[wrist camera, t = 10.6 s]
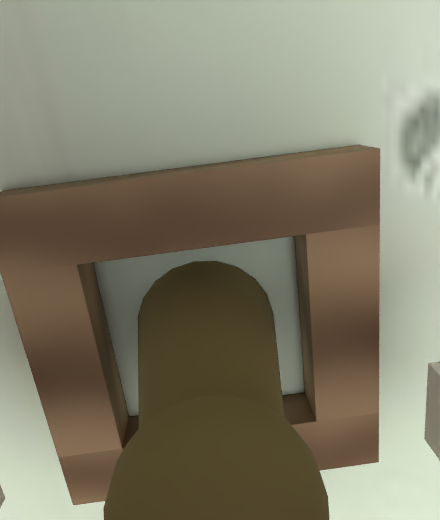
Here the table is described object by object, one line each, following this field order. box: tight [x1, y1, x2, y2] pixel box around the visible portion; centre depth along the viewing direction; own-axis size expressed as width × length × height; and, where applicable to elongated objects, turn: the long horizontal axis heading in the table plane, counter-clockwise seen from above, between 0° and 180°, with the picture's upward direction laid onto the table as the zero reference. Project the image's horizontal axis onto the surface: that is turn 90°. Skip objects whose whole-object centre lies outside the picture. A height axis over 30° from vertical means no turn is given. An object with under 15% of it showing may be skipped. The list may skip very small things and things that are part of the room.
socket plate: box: [0, 145, 380, 505], centre depth 18 cm, size 14×14×2 cm
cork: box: [104, 261, 329, 520], centre depth 14 cm, size 6×6×11 cm
